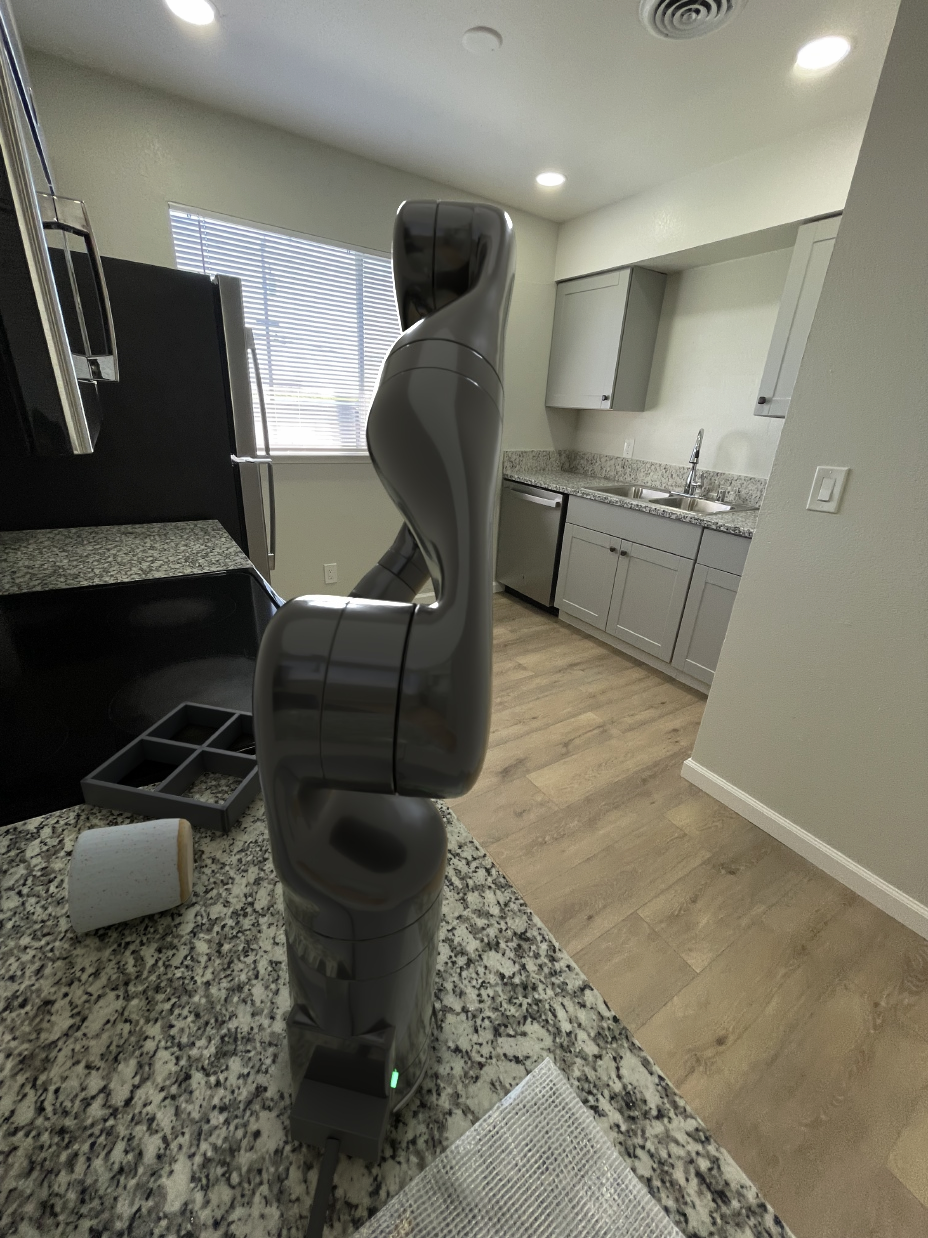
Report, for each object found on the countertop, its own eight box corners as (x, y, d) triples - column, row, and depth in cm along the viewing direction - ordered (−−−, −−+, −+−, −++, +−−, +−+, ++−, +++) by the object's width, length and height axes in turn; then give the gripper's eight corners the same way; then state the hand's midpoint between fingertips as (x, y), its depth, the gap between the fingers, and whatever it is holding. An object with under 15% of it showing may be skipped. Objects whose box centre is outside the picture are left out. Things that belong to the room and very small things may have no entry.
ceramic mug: (195, 921, 43) (184, 852, 40) (77, 956, 40) (56, 884, 37) (198, 832, 52) (189, 770, 49) (101, 854, 48) (86, 789, 46)
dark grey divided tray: (227, 833, 52) (224, 810, 51) (85, 804, 54) (79, 781, 53) (300, 740, 67) (299, 721, 66) (187, 720, 69) (184, 701, 67)
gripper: (332, 575, 72) (254, 670, 69) (388, 608, 62) (299, 720, 59) (365, 603, 77) (293, 692, 74) (421, 638, 67) (341, 742, 64)
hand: (296, 704), depth 67 cm, fingers open, 6 cm apart
